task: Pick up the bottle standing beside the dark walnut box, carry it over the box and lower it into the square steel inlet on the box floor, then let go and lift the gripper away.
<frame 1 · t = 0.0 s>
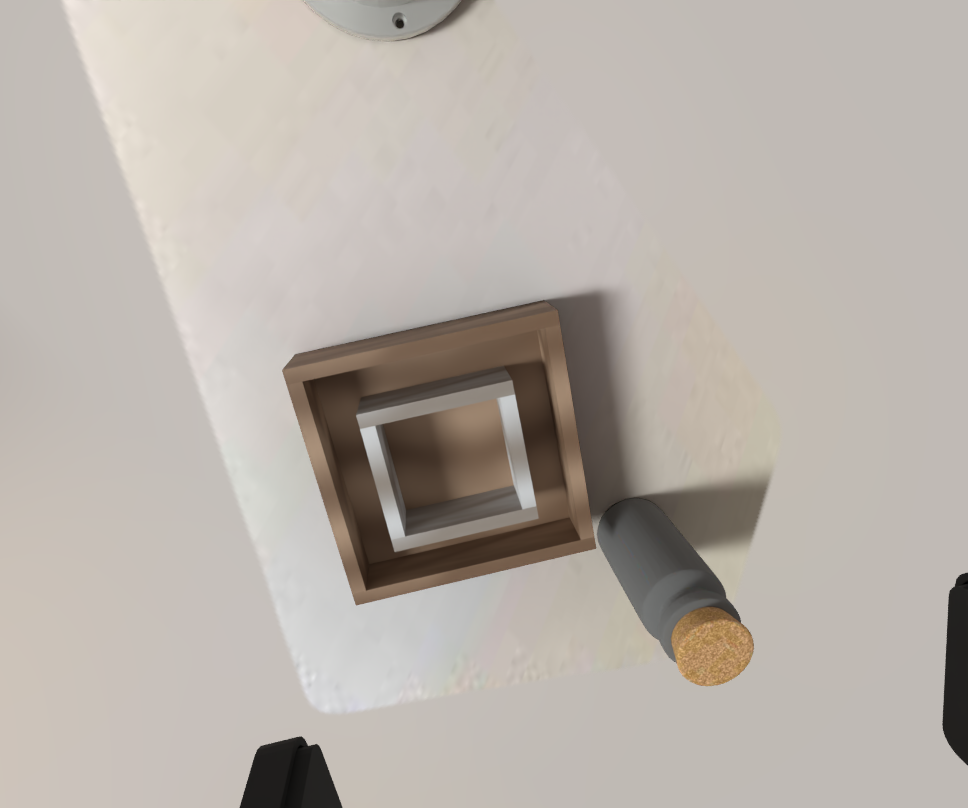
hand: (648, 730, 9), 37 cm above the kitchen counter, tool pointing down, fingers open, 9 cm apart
walled box: (447, 442, 46), on the kitchen counter
bottle: (630, 528, 51), on the kitchen counter
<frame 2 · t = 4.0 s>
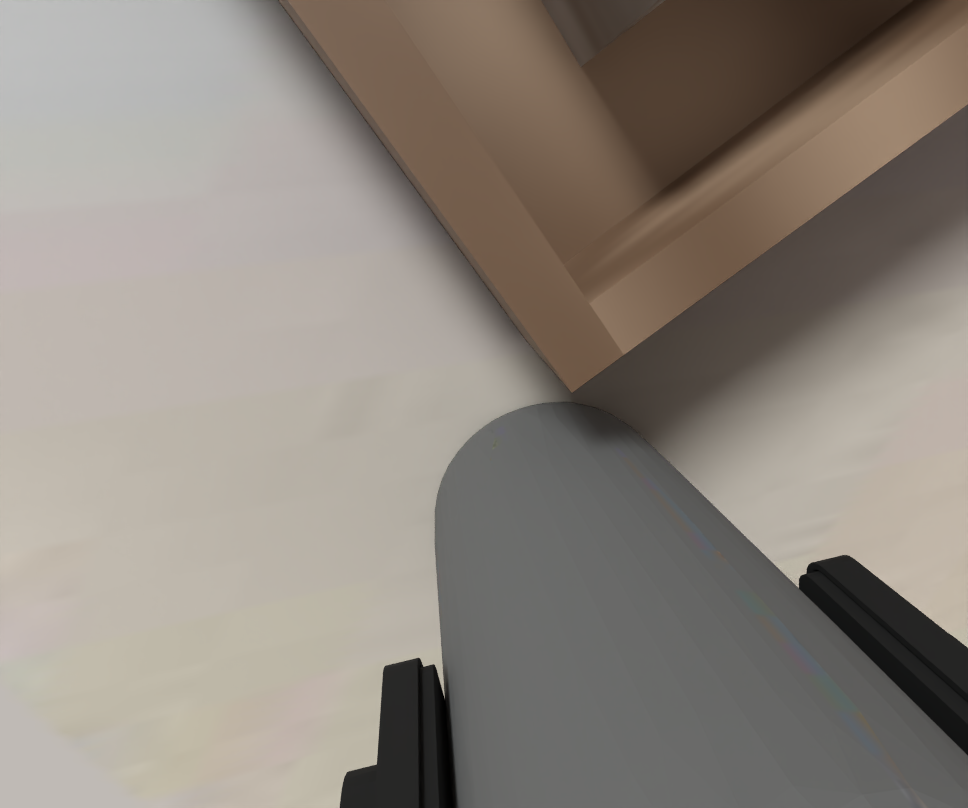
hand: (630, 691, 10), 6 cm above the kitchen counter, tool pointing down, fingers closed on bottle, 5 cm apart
bottle: (548, 507, 16), on the kitchen counter, touching gripper
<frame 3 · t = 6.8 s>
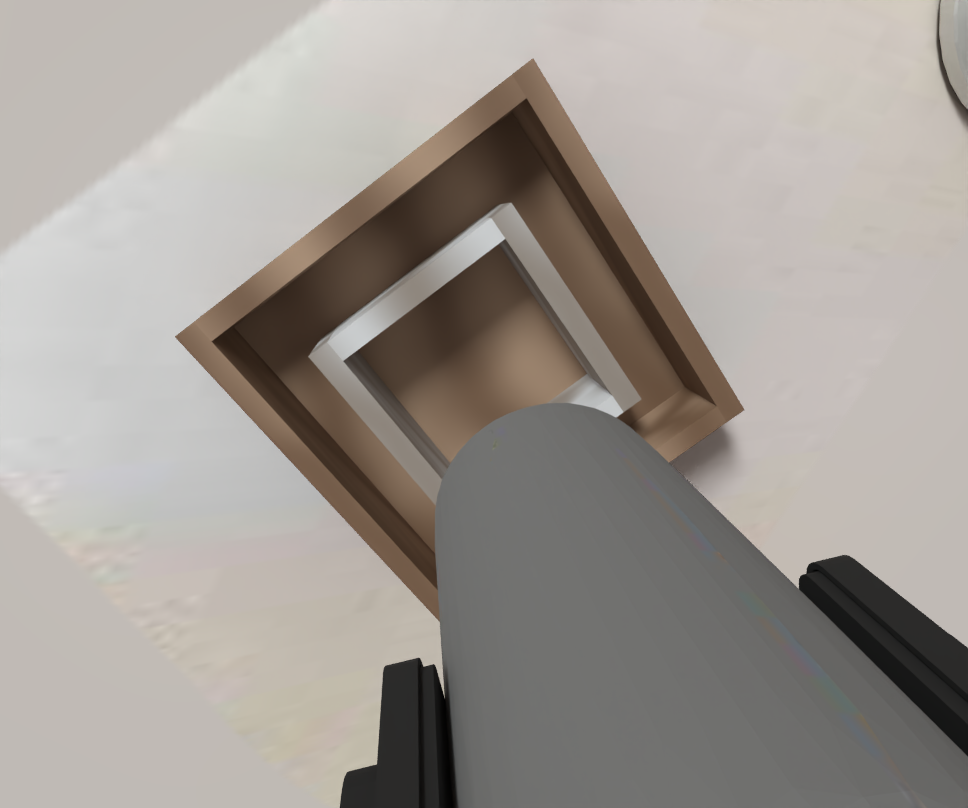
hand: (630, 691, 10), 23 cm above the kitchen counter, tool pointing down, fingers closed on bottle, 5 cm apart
walled box: (470, 354, 31), on the kitchen counter
bottle: (548, 507, 16), point 17 cm above the kitchen counter, touching gripper
when the fingers open (8 cm above the kitchen counter, at t = 9.6 s): bottle stays where it is, resting on walled box.
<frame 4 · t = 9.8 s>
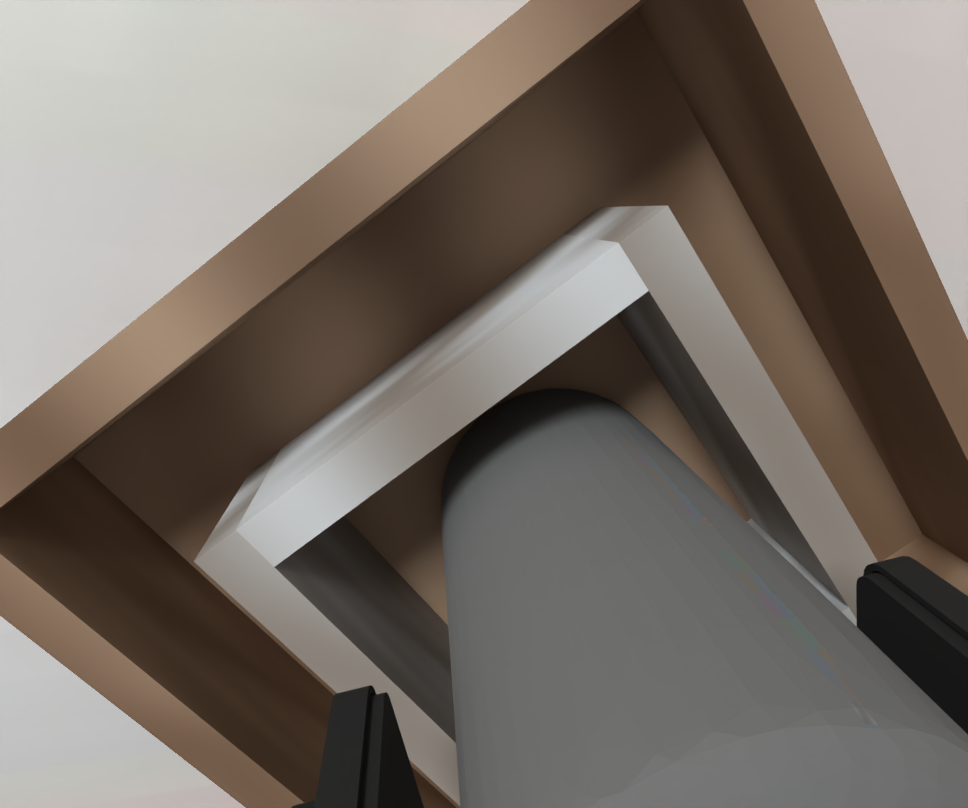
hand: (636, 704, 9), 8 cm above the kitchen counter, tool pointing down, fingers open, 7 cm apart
walled box: (534, 483, 17), on the kitchen counter
bottle: (550, 490, 16), point 1 cm above the kitchen counter, touching walled box
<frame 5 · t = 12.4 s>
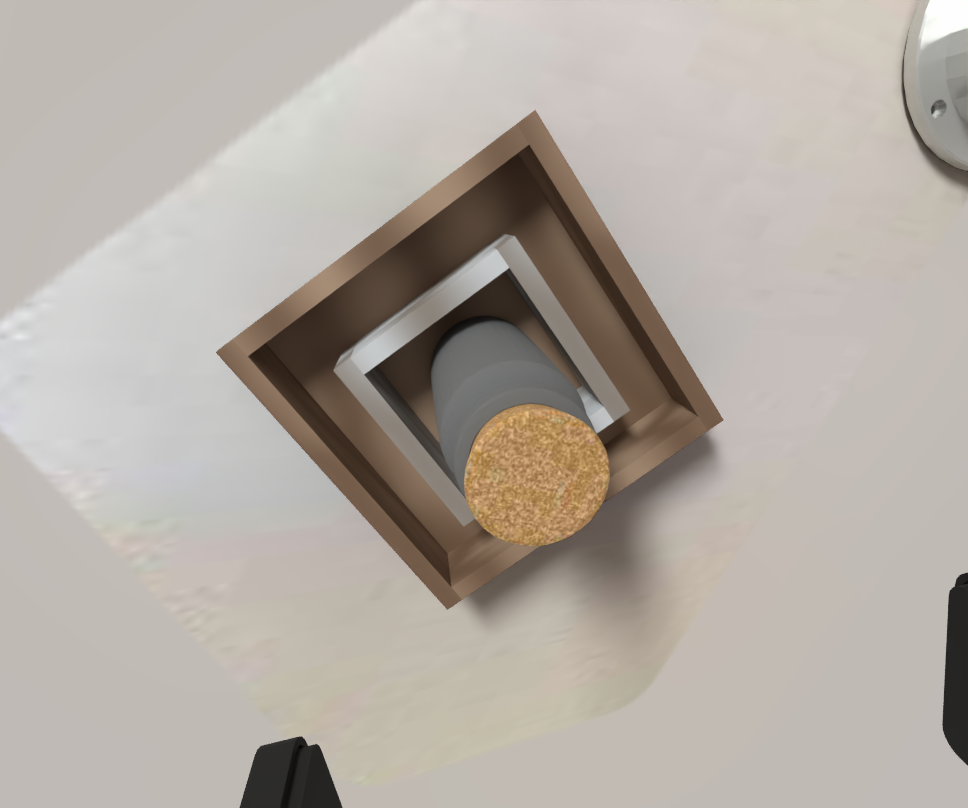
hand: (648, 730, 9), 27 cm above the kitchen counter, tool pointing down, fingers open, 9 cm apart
walled box: (476, 366, 35), on the kitchen counter
bottle: (482, 367, 34), point 1 cm above the kitchen counter, touching walled box
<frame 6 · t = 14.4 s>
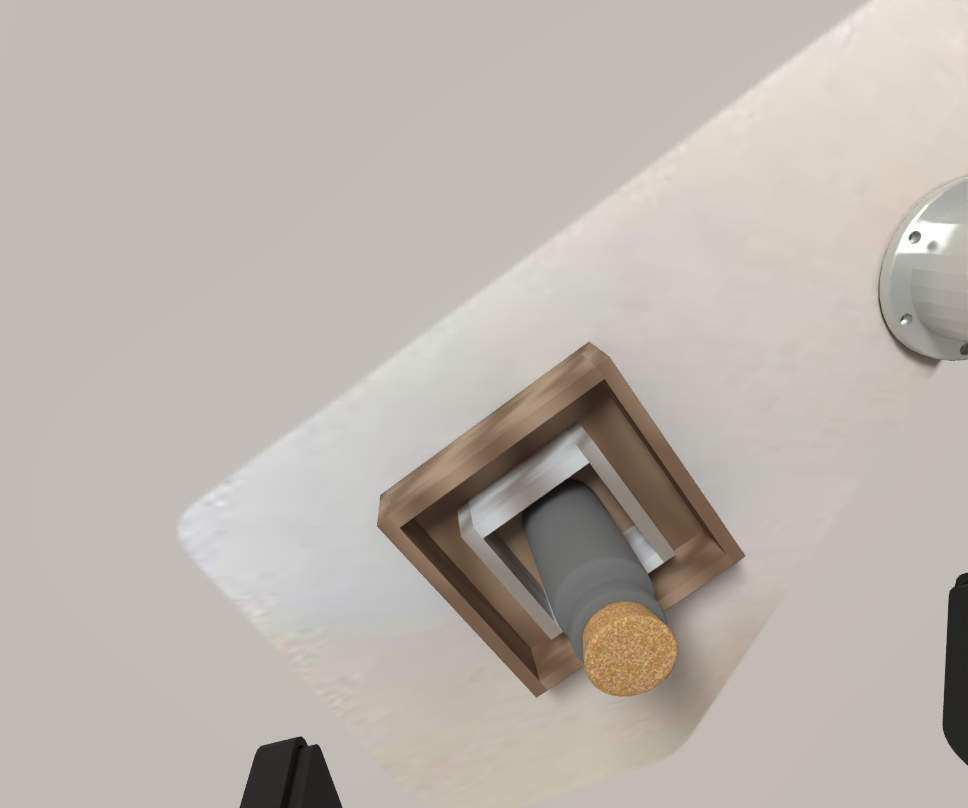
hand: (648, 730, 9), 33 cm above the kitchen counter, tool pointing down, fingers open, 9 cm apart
walled box: (555, 510, 45), on the kitchen counter
bottle: (560, 513, 44), point 1 cm above the kitchen counter, touching walled box
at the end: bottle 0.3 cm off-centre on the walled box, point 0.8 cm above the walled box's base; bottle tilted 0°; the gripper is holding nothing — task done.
